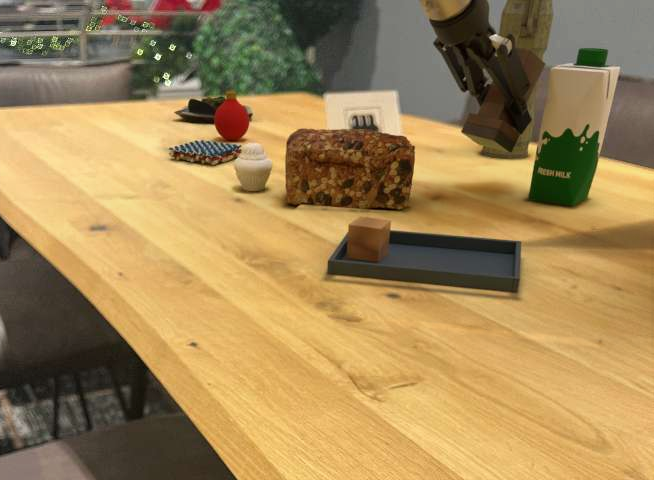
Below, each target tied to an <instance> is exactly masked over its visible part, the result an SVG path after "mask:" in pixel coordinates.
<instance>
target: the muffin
mask: <svg viewBox="0 0 654 480" xmlns="http://www.w3.org/2000/svg"><path fill="white" fill-rule="evenodd" d="M241 149H242V151H241V152H242V153H241V154H240V155H239V157H238V158H237V157H236V159H235V160H234V162H233V169H234V171H235V175H236V177H237V180H238V181H239V183H240V185H241V187H242V189H243V190H244V191H247V192H259V191H263V190H264V188H265V187H266V184H267V183H268V181H269V178H270V176H271V172H272V171H273V170H272V169H273V162H272V160H271V159H270V158H269V157H268V155H267V153H266V152H265V148H264V146H263V145H262V144H261V143H257V142H254V141H252V142H247V143H245V144H244V145H242V147H241Z"/></svg>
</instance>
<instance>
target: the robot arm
mask: <svg viewBox="0 0 654 480" xmlns="http://www.w3.org/2000/svg"><path fill="white" fill-rule="evenodd" d="M419 3H420V5H421V7H422V10H423V11H424V13H425V15H426V17H427V18H428V20H429V24H430V26H431V27H432V29H433V32H434V33H435V35H436V38H435V39H434V41H433V42H432V44H433V46H434V48H435V49H436V50H437V51H438V52H439V54H441V56H442V58H443V60H444V62H445V65H447V67H448V70H449V71H450V73H451V75H452V77H453V79H454V81H455V83H456V85H457V87H458V89H459V90H460V91H461V92H462V93H467V91H468V92H469V94H470V96H471V97H473V98H475V100H476V102H477V104H478V106H479V108H480V107H481V105H482V103H483V101H484V99H485V96H486V94H487V92H488V90H489V88H490V86H491V84H492V83H487V82H488V81H489V77H490V78H491V80H492V81H494V83H495V84H496V86H497V87H498V89H499V90H500V92H501V93H502V95H503V96H504V97H505V99H506V100H505V101H504V103H503V105H504V106H505V108H506V110H507V112H508V114H509V116H510V119H511V121H512V123H513V125H514V127H515V129H516V131H518V132H519V133H520V134H521V135H522V133H523V132H524V130H525V129H526V128H527V126H528V125H529V123H530V122H531V121H532V119H531V116H530V114H529V112H528V110H527V104H526V102H525V99H524V95H525V94H526V93H527V91H528V90H529V88H530V87H531V84H530V82H529V79H528V77H527V75H526V72H525V70H524V67H523V65H522V62H521V60H520V58H519V55H518V53H517V50H516V48H515V37H514V36H513V35H512V34H508V35H507V36H506V38H503V37H501V36H498V35H499V34H497V31H496V29H495V27H493V26H492V25H491V23H490V19H489V18H490V4H489V1H488V0H419ZM484 70H485V71H486V72H487V74H488V76H489V77H487V76H485V73H484Z"/></svg>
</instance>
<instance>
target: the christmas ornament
mask: <svg viewBox="0 0 654 480" xmlns="http://www.w3.org/2000/svg"><path fill="white" fill-rule="evenodd" d="M230 86H232V87H233V91H229V90H228V89H229V87H230ZM225 96H226V97H225V99H226V100H225V102H224V103H223V104H222V105H220V106H219V108H218V109H217V111H216V113H215V117H214V124H213V125H214V127H215V130H216V132H217V133H218V135H219V136H220V137H221V138H222V139H224V140H225V139H226V140H227V141H237V140H240V139H241V138H243V137H244V136H245V135H246V134H247V132H248V130H249V128H250V118H249V115H248V112H247V110H246V109H245V108H244V106H242V105H243V104H241V103H240V102H239V101H238V99H237V92H236V88H235V86H234V85H233V84H229V85H228V86H227V87H226V92H225Z"/></svg>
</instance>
